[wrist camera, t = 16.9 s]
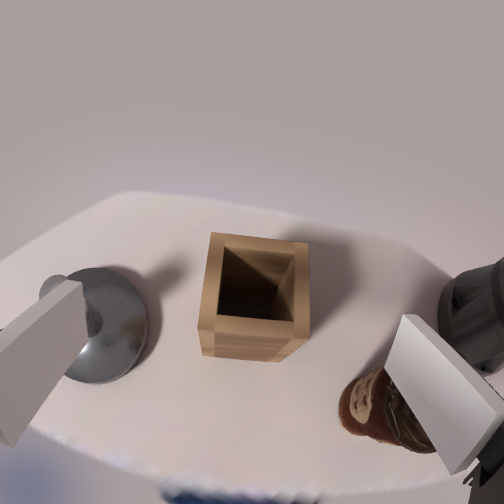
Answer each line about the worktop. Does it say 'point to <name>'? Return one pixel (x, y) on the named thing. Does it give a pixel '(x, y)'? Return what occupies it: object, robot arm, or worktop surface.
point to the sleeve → (255, 297)
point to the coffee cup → (382, 412)
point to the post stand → (106, 325)
